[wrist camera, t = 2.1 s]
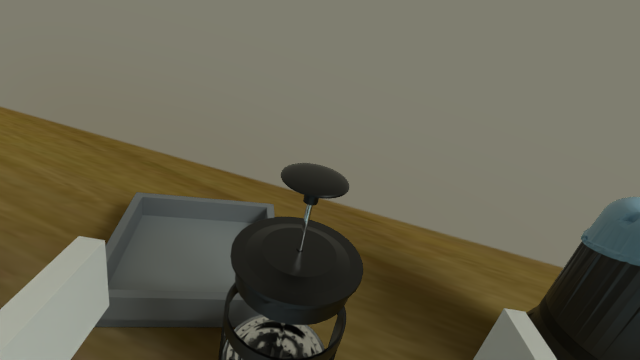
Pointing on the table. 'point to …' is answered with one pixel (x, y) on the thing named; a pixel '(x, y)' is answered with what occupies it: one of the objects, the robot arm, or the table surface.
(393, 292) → the table surface
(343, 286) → the french press
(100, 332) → the table surface
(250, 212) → the tray
